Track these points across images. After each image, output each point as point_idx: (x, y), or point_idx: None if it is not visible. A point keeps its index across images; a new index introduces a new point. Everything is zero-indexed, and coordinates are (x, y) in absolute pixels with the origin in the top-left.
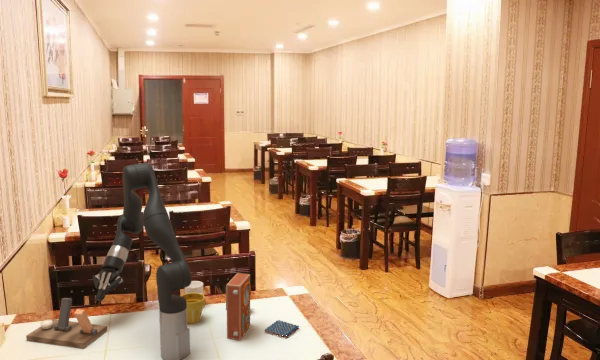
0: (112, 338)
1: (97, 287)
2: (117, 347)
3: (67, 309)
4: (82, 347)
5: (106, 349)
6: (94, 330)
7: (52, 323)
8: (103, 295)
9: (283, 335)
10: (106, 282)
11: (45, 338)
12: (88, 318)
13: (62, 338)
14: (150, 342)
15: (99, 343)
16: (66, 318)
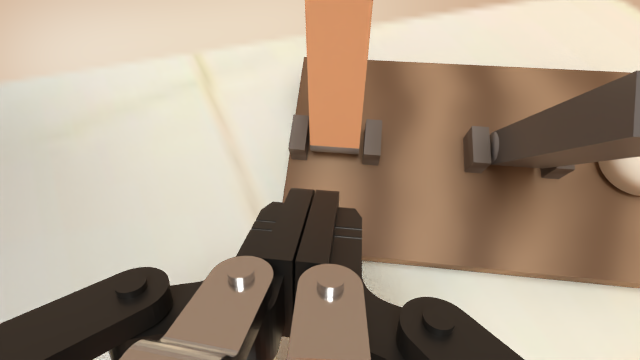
0: (219, 178)
1: (407, 315)
2: (164, 107)
3: (560, 106)
4: None
5: (207, 85)
6: (294, 128)
7: (620, 170)
8: (253, 227)
9: None
10: (152, 358)
11: (528, 68)
12: (307, 51)
13: (440, 79)
14: (22, 171)
15: (261, 124)
16: (520, 125)
